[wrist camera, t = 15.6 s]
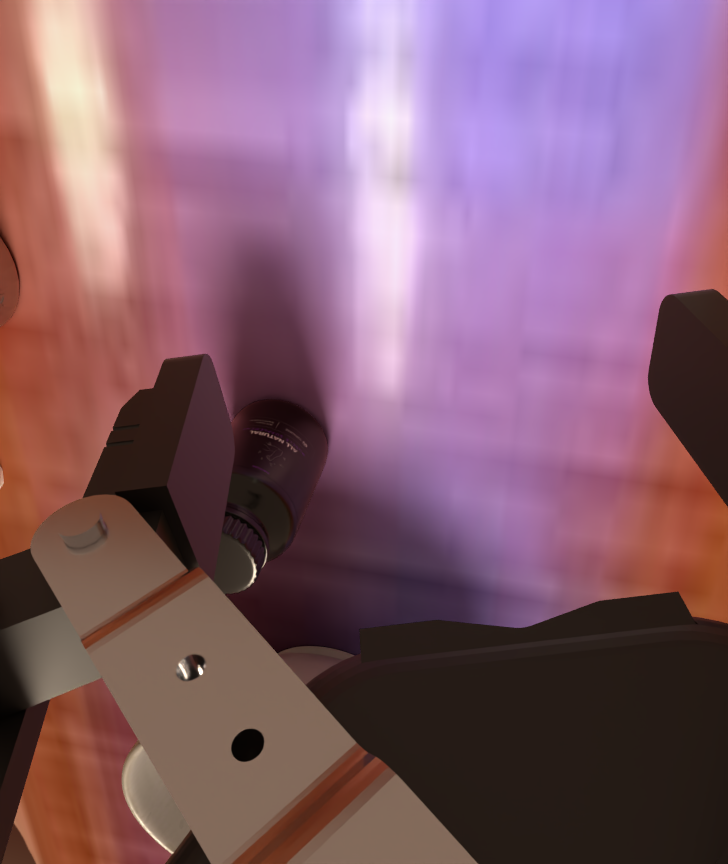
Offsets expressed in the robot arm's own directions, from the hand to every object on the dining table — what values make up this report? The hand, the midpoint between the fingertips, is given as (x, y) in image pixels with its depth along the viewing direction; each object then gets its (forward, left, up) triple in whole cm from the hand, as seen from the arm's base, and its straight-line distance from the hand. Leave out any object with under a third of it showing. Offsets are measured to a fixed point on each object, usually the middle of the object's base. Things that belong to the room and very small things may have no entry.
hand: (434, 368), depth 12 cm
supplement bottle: (-12, -18, -25) cm, 33 cm away
